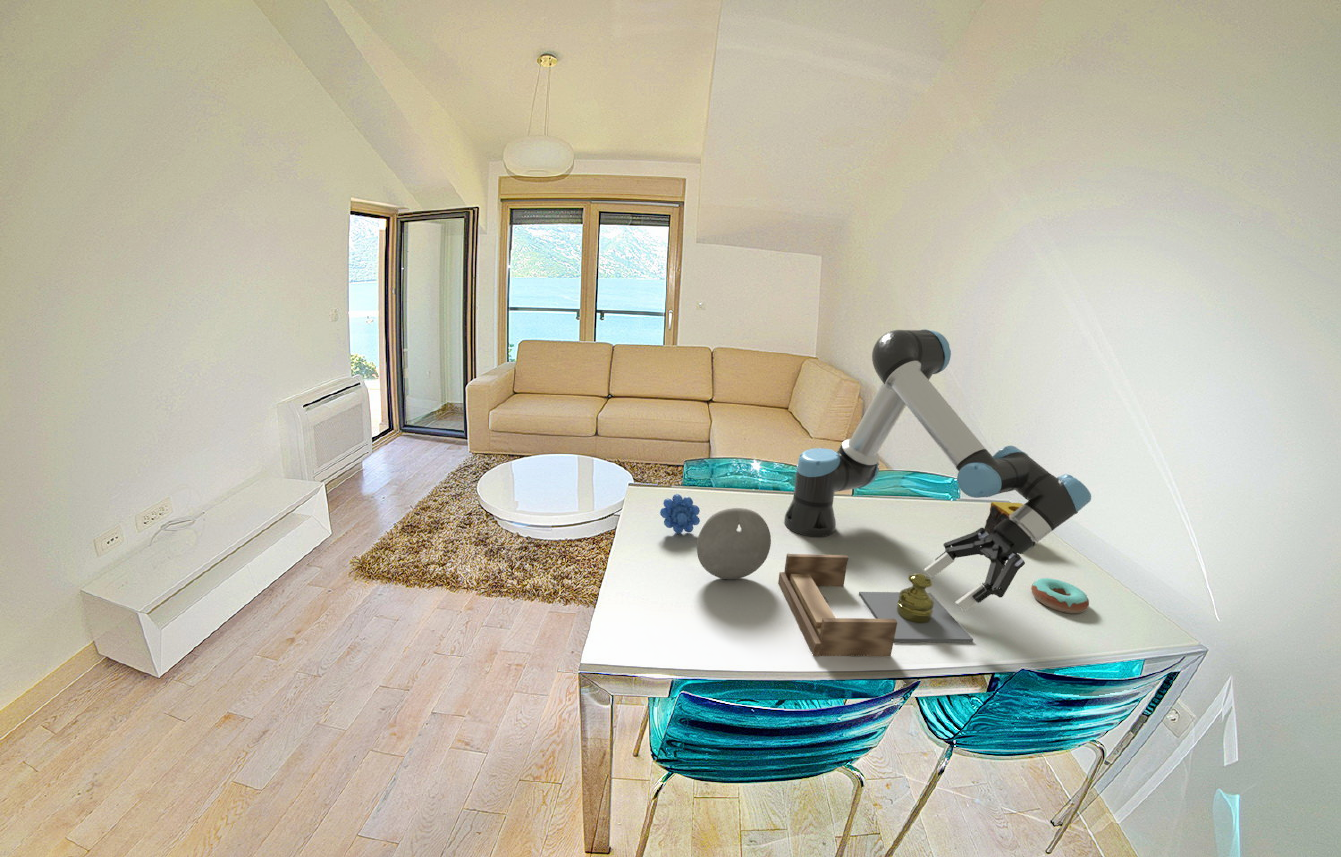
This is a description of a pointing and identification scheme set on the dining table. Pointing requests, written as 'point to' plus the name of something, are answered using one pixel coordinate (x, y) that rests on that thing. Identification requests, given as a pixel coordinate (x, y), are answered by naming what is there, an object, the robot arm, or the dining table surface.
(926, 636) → the charcoal mat
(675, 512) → the blue flower
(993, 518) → the yellow brown cube
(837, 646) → the offcut rack
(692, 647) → the dining table surface
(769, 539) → the grey thick disc
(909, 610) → the gold rounded piece
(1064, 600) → the donut
